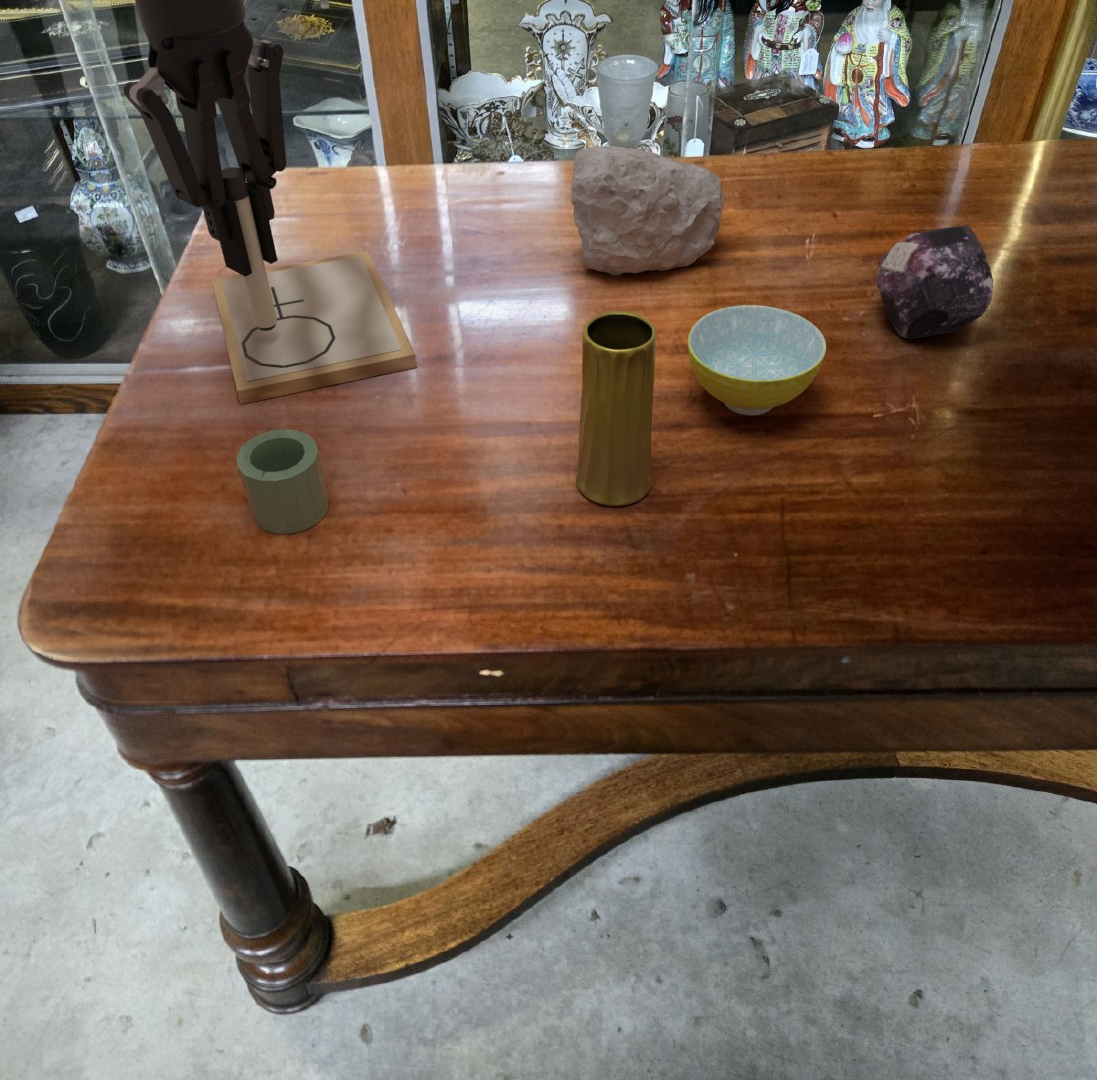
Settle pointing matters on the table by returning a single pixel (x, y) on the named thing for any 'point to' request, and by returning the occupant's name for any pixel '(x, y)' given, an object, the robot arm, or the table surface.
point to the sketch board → (313, 328)
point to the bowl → (755, 356)
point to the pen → (251, 250)
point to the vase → (616, 408)
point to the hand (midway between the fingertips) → (251, 263)
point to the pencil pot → (283, 481)
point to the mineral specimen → (935, 282)
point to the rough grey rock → (642, 209)
